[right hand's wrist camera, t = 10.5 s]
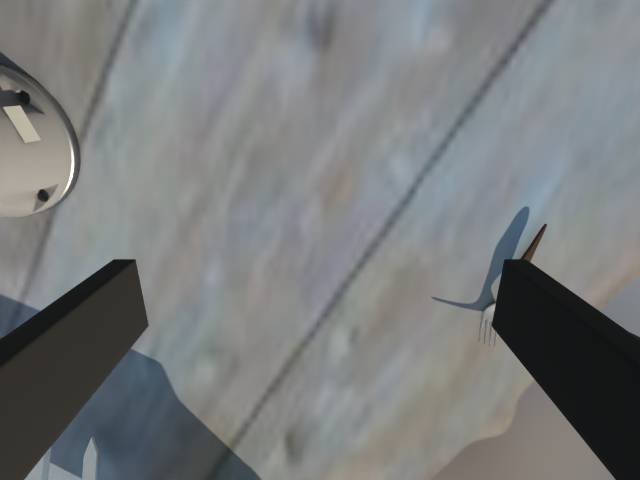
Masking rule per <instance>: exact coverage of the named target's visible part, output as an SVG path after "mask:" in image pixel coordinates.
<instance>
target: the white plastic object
mask: <svg viewBox="0 0 640 480" xmlns="http://www.w3.org/2000/svg"><path fill="white" fill-rule="evenodd" d="M51 447H52V446H51ZM51 447H50V448H49V450H48V451H47V452H46V453H45V454H44V456H43V457H42V458H41V459H40V461H39V462H38V463H37V464H36V466H35V467H34V468H33V469H32V471H31V472H30V473H29V474H28V476H27V480H48V476H49V466H50V456H51ZM97 466H98V448H97V445H96V442H95V439H94V436H93V437H91V439H90V442H89V444H88V447H87V449H86V452H85V454H84V459H83V474H82V480H97Z"/></svg>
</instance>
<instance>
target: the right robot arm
mask: <svg viewBox="0 0 640 480" xmlns="http://www.w3.org/2000/svg"><path fill="white" fill-rule="evenodd" d="M79 170H80V149H79V144H78V140H77V137H76V133H75V131H74V128H73V126H72V124H71V122H70V120H69V118H68V116H67V115H66V113H65V111H64V110H63V109H62V107H61V106H60V104H59V103H58V102H57V101H56V99H55V98H54V97H53V96H52V95H51V94H50V93H49V92H48V91H47V90H46V89H45V88H44V87H42V86H41V85H40V84H39V83H37V82H36V81H35V80H33V79H32V78H30V77H29V76H27V75H25V74H23V73H22V72H20V71H18V70H15V69H13V68H11V67H8V66H5V65H1V64H0V217H21V216H28V215H33V214H36V213H40V212H42V211H45V210H48V209H50V208H53V207H54V206H56V205H58V204H59V203H61V202H62V201H63V200H64V199H65V198H66V197H67V196H68V195H69V194H70V193H71V191H72V189H73V188H74V186H75V184H76V181H77V178H78V175H79ZM148 326H149V325H148V320H147V315H146V310H145V305H144V300H143V295H142V290H141V285H140V280H139V275H138V270H137V265H136V260H135V259H114V260H112V261H111V262H110V263H108V264H107V265H105V266H104V267H103V268H101V269H100V270H98V271H97V272H95V273H94V274H93V275H91V276H90V277H88V278H87V279H86V280H84V281H83V282H81V283H80V284H79V285H77V286H76V287H74V288H73V289H71V290H70V291H69V292H67V293H66V294H64V295H63V296H62V297H60V298H59V299H57V300H56V301H54V302H53V303H52V304H50V305H49V306H47V307H46V308H45V309H43V310H42V311H40V312H39V313H38V314H36V315H35V316H33V317H32V318H30V319H29V320H28V321H26V322H25V323H23V324H22V325H21V326H19V327H18V328H16V329H15V330H13V331H12V332H11V333H9V334H8V335H6V336H5V337H3V338H1V339H0V480H24V479H25V478H26V477H27V476H28V474H29V473H30V472H31V471H32V469H33V468H34V467H35V466H36V464H37V463H38V462H39V461H40V459H41V458H42V457H43V456H44V454H45V453H46V452H47V451H48V450H49V448H50V447H51V446H52V445H53V443H54V442H55V441H56V440H57V438H58V437H59V436H60V435H61V433H62V432H63V431H64V430H65V429H66V427H67V426H68V425H69V424H70V422H71V421H72V420H73V419H74V417H75V416H76V415H77V414H78V412H79V411H80V410H81V409H82V407H83V406H84V405H85V404H86V403H87V401H88V400H89V399H90V398H91V396H92V395H93V394H94V393H95V391H96V390H97V389H98V388H99V386H100V385H101V384H102V383H103V382H104V380H105V379H106V378H107V377H108V375H109V374H110V373H111V372H112V370H113V369H114V368H115V367H116V365H117V364H118V363H119V362H120V360H121V359H122V358H123V357H124V356H125V354H126V353H127V352H128V351H129V349H130V348H131V347H132V346H133V344H134V343H135V342H136V341H137V339H138V338H139V337H140V336H141V334H142V333H143V332H144V331H145V330H146V328H147V327H148ZM491 326H492V327H493V328H494V330H495V331H496V332H497V333H498V334H499V336H500V337H501V338H502V339H503V341H504V342H505V343H506V344H507V346H508V347H509V348H510V349H511V351H512V352H513V353H514V354H515V356H516V357H517V358H518V359H519V360H520V362H521V363H522V364H523V365H524V367H525V368H526V369H527V370H528V372H529V373H530V374H531V375H532V377H533V378H534V379H535V380H536V382H537V383H538V384H539V385H540V386H541V388H542V389H543V390H544V391H545V393H546V394H547V395H548V396H549V398H550V399H551V400H552V401H553V403H554V404H555V405H556V406H557V407H558V409H559V410H560V411H561V412H562V414H563V415H564V416H565V417H566V419H567V420H568V421H569V422H570V424H571V425H572V426H573V427H574V429H575V430H576V431H577V432H578V433H579V435H580V436H581V437H582V438H583V440H584V441H585V442H586V443H587V445H588V446H589V447H590V448H591V450H592V451H593V452H594V453H595V454H596V456H597V457H598V458H599V459H600V461H601V462H602V463H603V464H604V466H605V467H606V468H607V469H608V471H609V472H610V473H611V474H612V476H613V477H614V478H615V479H616V480H640V337H638V336H636V335H634V334H632V333H630V332H628V331H627V330H625V329H624V328H622V327H621V326H619V325H618V324H617V323H615V322H614V321H612V320H611V319H610V318H608V317H607V316H605V315H604V314H602V313H601V312H600V311H598V310H597V309H595V308H594V307H593V306H591V305H590V304H588V303H587V302H586V301H584V300H583V299H581V298H580V297H578V296H577V295H576V294H574V293H573V292H571V291H570V290H569V289H567V288H566V287H564V286H563V285H561V284H560V283H559V282H557V281H556V280H554V279H553V278H552V277H550V276H549V275H547V274H546V273H545V272H543V271H542V270H540V269H539V268H537V267H536V266H535V265H533V264H532V263H530V262H529V261H528V260H526V259H505V260H504V265H503V270H502V275H501V280H500V285H499V290H498V295H497V300H496V305H495V310H494V315H493V320H492V325H491Z"/></svg>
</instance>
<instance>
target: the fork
mask: <svg viewBox="0 0 640 480" xmlns="http://www.w3.org/2000/svg"><path fill="white" fill-rule="evenodd" d="M546 226H547V224H545V225H544V226H543V227H542V228H541V230H540V231H539V233H538V234H537V236H536V237H535V239H534V240H533V242H532V243H531V245H530V246H529V248H528V249H527V251H526V252H525V253H524V255H523V256H522V258H521V259H526V260H528V261H529V262H530V261H531V259H532V257H533V254H534V252H535V250H536V248H537V246H538V244H539V242H540V240H541V238H542V235H543V233H544V231H545V229H546ZM495 305H496V302H495V303H493V304H491V305H490V306H488V307H487V308H486V309H485V310H484V311H483V313H482V317H481V323H480V331H479V341H478V343H480V337H481V332H482V327H483V323H484V321H486V325H485V333H484V344H485V339H486V334H487V329H488V325H489V323H491V325H492V320H493V315H494V310H495ZM492 331H493V327H492V326H491V327H490V336H489V346H490V341H491V336H492ZM496 338H497V332H496V331H495V339H494V347H495V344H496Z"/></svg>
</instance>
